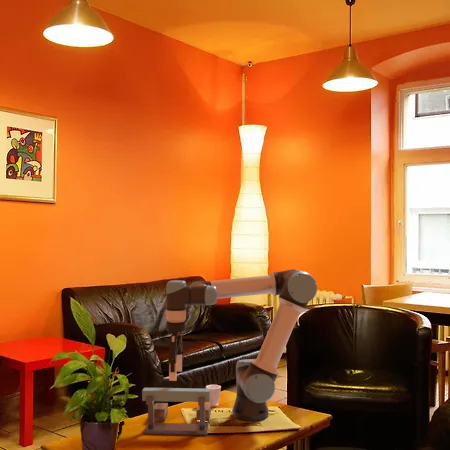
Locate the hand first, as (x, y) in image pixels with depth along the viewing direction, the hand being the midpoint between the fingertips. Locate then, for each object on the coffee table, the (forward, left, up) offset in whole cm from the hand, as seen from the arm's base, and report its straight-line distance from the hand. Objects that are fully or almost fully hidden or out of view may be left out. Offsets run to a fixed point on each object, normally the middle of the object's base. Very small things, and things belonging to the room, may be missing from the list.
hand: (175, 375), depth 224 cm
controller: (+22, +7, -22) cm, 31 cm away
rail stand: (0, 0, -21) cm, 21 cm away
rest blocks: (0, -14, -21) cm, 26 cm away
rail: (0, 0, -9) cm, 9 cm away
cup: (-10, -32, -22) cm, 40 cm away
